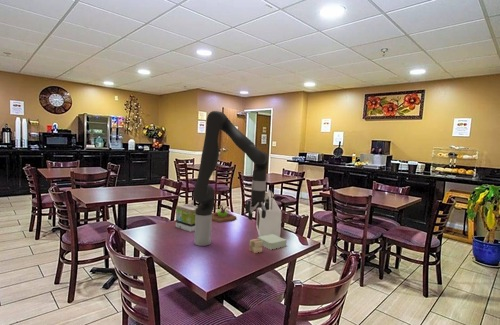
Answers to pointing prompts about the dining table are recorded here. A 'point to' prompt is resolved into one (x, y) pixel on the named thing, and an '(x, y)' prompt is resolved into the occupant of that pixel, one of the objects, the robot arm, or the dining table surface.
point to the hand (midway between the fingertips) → (256, 218)
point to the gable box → (269, 218)
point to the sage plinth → (272, 241)
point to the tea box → (186, 217)
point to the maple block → (256, 245)
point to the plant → (223, 216)
